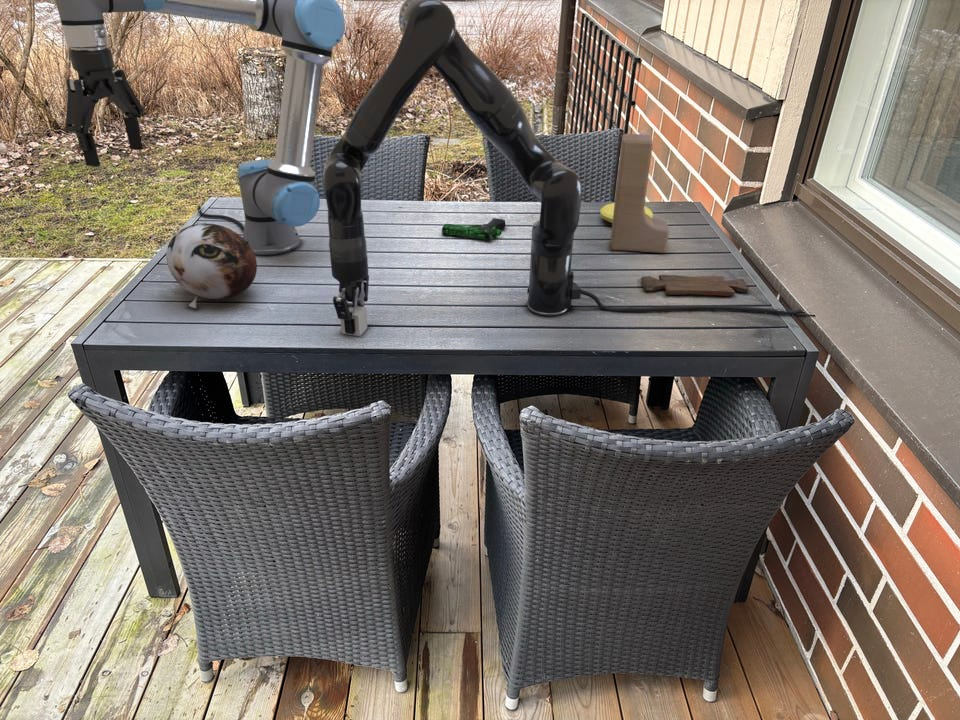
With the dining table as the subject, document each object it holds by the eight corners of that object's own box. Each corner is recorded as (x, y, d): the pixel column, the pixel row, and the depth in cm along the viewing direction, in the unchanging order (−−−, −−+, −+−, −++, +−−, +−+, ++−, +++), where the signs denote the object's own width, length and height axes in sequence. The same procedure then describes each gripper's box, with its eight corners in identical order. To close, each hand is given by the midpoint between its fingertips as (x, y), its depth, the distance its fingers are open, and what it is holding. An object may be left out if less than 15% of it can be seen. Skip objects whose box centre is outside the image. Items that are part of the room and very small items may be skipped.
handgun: (511, 219, 210) (493, 234, 198) (511, 228, 211) (492, 244, 199) (461, 212, 215) (440, 226, 203) (461, 221, 217) (440, 236, 204)
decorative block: (666, 254, 195) (683, 142, 180) (610, 250, 197) (623, 139, 181) (663, 244, 201) (680, 135, 186) (610, 240, 203) (622, 132, 188)
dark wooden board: (752, 298, 172) (740, 281, 181) (754, 292, 171) (742, 275, 180) (645, 295, 172) (638, 278, 181) (646, 288, 172) (639, 271, 180)
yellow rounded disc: (613, 210, 226) (616, 188, 222) (660, 220, 218) (663, 198, 214) (589, 223, 215) (592, 200, 211) (638, 235, 207) (641, 211, 203)
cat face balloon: (130, 285, 161) (164, 203, 163) (192, 308, 177) (221, 233, 178) (195, 307, 151) (229, 220, 152) (254, 330, 166) (285, 250, 168)
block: (341, 333, 154) (339, 313, 152) (349, 324, 158) (347, 304, 155) (360, 336, 153) (358, 315, 151) (367, 327, 157) (366, 307, 154)
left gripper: (58, 57, 128) (89, 174, 139) (146, 41, 149) (167, 144, 160) (23, 55, 130) (57, 171, 141) (115, 39, 151) (138, 141, 162)
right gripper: (351, 269, 140) (358, 345, 149) (378, 243, 152) (383, 315, 160) (316, 265, 141) (324, 341, 150) (345, 240, 153) (351, 311, 162)
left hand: (116, 157), depth 150 cm, fingers open, 13 cm apart
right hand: (354, 327), depth 155 cm, fingers closed on block, 4 cm apart
